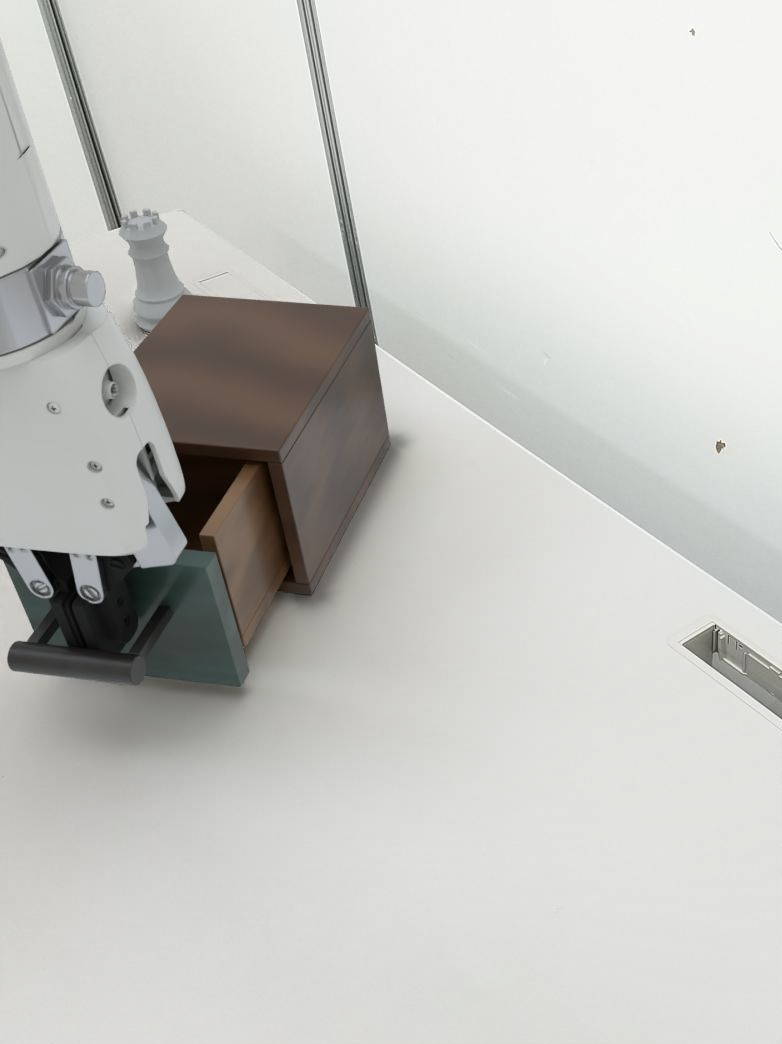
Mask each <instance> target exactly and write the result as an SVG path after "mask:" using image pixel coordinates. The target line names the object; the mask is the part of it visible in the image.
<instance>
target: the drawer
mask: <svg viewBox="0 0 782 1044" xmlns="http://www.w3.org/2000/svg"><path fill="white" fill-rule="evenodd" d="M176 455H177V458H178V461H179V464H180V467H181V470H182V474H183V478H184V482H185V492H184V494H183V496H182V498H181V499H180V501H179V502H177V501H172V502H167V503H166V505H167V507H168V508H169V510H170V512H171V513H172V515H173V517H174V519H175V520H176V522H177V524H178V525H179V527H180V529H181V530H182V532H183V534H184V536H185V537H186V539H187V545H186V547H185V549H184V550H183V552H182V553H181V555H180V556H179V558H178V559H177V561H176V562H175V563H174V564H173V565H170V566H161V567H151V568H141V567H134V568H132V569H131V571H130V572H129V573H128V574H127V575H126V576H125V577H124V580H125V583H126V585H127V588H128V591H129V594H130V597H131V599H132V602H133V605H134V608H135V611H136V613H137V617H138V627H137V631H136V633H135V634H134V636H133V638H132V639H131V640H130V642H128V643H126V645H125V646H124V648H123V649H122V651H121V652H111V651H102V650H94V649H85V648H77V647H68V645H67V642H66V640H65V638H64V635H63V633H62V631H61V628H60V626H59V624H58V621H57V619H56V616H55V614H54V612H53V609H52V607H51V604H50V602H49V600H48V599H44V598H40V597H38V596H36V595H34V594H33V593H32V592H31V591H30V590H29V588H28V587H27V585H26V583H25V582H24V580H23V578H22V577H21V575H20V573H19V572H18V571H17V570H16V569H14V568H13V567H11V566H10V565H8V564H7V563H5V562H4V561H3V560H2V562H3V564H4V566H5V568H6V570H7V573H8V575H9V578H10V580H11V583H12V585H13V587H14V589H15V592H16V594H17V596H18V598H19V601H20V603H21V605H22V608H23V610H24V613H25V615H26V617H27V619H28V622H29V624H30V626H31V629H32V631H33V632H32V633H31V634H30V636H29V637H28V638H27V640H25V641H23V640H16V641H14V642H13V643H12V644H11V645H10V647H9V649H8V651H7V656H6V661H7V666H8V668H9V669H10V670H11V671H12V672H17V673H25V674H34V675H41V676H50V677H59V678H67V679H68V678H69V679H75V680H84V681H93V682H99V683H100V682H101V683H107V684H118V685H127V686H133V687H134V686H135V687H137V686H139V685H140V684H141V683H143V680H144V679H145V677H147V678H153V679H154V678H155V679H162V680H164V679H165V680H171V681H179V682H188V683H195V684H196V683H197V684H205V685H214V686H222V687H230V688H239V689H241V688H242V687H243V685H244V683H245V681H246V679H247V677H248V675H249V674H250V668H249V664H248V661H247V657H246V653H245V650H244V648H247V646H248V644H249V643H250V640H251V639H252V637H253V635H254V634H255V632H256V629H257V628H258V626H259V624H260V623H261V622H262V619H263V617H264V616H265V613H266V612H267V610H268V608H269V606H270V604H271V603H272V601H273V599H274V597H275V595H276V594H277V592H278V591H277V590H278V588H279V586H280V585H281V583H282V581H283V579H284V577H285V576H286V574H287V572H288V570H289V568H290V567H291V565H292V564H291V560H290V556H289V551H288V547H287V543H286V539H285V535H284V530H283V526H282V522H281V518H280V514H279V509H278V505H277V501H276V497H275V492H274V488H273V484H272V480H271V476H270V471H269V467H268V462H263V461H252V460H241V459H230V458H219V457H208V456H197V455H186V454H176Z"/></svg>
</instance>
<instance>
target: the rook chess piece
mask: <svg viewBox="0 0 782 1044" xmlns="http://www.w3.org/2000/svg"><path fill="white" fill-rule="evenodd" d="M128 213H129V216H128V214H127V213H126V214H124V213H123V214H122V215H121V216H120V219H121V220H120V224H121V226H120V228H119V230H118V236H119V237H121V239H123V240H124V241H125V242H126V243H127V244H128V246H129V248H128V250H127V255H128V256H129V257H130V258H131V259H132V262H133V266H134V270H135V278H136V289H135V290H134V296H135V297H134V298H133V300H132V312H134V314H135V317H134V322H135V323H136V325H138V327H139V328H141V329H142V330H144V332H148V333H150V332H151V331H152V329H153V328H154V327H155V326H156V325H157V324H158V322H159V321H160V320H161V319H162V318H163V317H164V316H165V314H166V313H167V312H168V311H169V310H170V309H171V307H172V306H173V305H174V304H175V303H176V302H177V300H178V299H179V298H180V297H181V296H182V295H184V294H185V295H193V294H192V292H191V291H190V290H189V289H188V288H186V287H185V284H184V283H183V282H182V281H181V280H180V279H179V277H178V276H177V274H176V271H175V269H174V266H173V264H172V262H171V260H170V255H169V250H170V245H169V244H168V243H167V242H166V241H165V240H164V236H165V235H166V232H167V230H168V224H166V222H164V220H162V219H161V218H160V215H159V212H158V211H157V210H152V211H151V208H142V214H140V215H139V214H138V211H137V209H132V210H129V211H128ZM129 217H130V218H129Z"/></svg>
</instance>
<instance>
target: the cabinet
mask: <svg viewBox="0 0 782 1044" xmlns="http://www.w3.org/2000/svg"><path fill="white" fill-rule="evenodd" d="M371 319H372V317H371V311H370V308H369V307H364V306H351V305H350V306H349V305H338V304H337V305H335V304H321V303H311V302H309V303H308V302H296V301H295V302H294V301H281V300H268V299H267V300H266V299H252V298H241V297H240V298H239V297H223V296H213V295H211V296H210V295H199V294H198V295H197V294H192V295H185V294H184V295H182V296H181V297H180V298H179V299H178V300H177V302H176V303H175V304H174V305H173V306H172V307H171V309H170V310H169V311H168V312H167V313H166V314H165V316H164V317H163V318H162V319H161V320H160V321H159V322H158V324H157V325H156V326H155V327H154V328H153V329H152V331H151V332H148V334H147V335H146V336H145V338H144V339H143V340H142V341H140V343H139V344H138V345H137V346H136V347H135V349H134V350H133V352H134V354H135V356H136V358H137V360H138V362H139V364H140V366H141V368H142V370H143V372H144V374H145V376H146V379H147V381H148V383H149V385H150V388H151V390H152V392H153V394H154V397H155V399H156V401H157V404H158V406H159V409H160V411H161V414H162V416H163V419H164V421H165V424H166V427H167V429H168V432H169V435H170V437H171V440H172V443H173V446H174V449H175V452H176V454H186V455H197V456H208V457H219V458H230V459H241V460H252V461H263V462H268V467H269V471H270V476H271V480H272V484H273V488H274V492H275V497H276V501H277V505H278V509H279V514H280V518H281V522H282V526H283V530H284V535H285V539H286V543H287V547H288V551H289V556H290V560H291V564H292V565H291V567H290V568H289V570H288V572H287V574H286V576H285V577H284V579H283V581H282V583H281V585H280V586H279V588H278V590H277V592H280V593H291V594H299V595H310V596H311V595H313V593H314V591H315V589H316V587H317V585H318V583H319V582H320V580H321V578H322V576H323V574H324V572H325V570H326V569H327V567H328V564H329V563H330V561H331V558H332V557H333V555H334V553H335V551H336V549H337V548H338V545H339V544H340V542H341V540H342V538H343V535H344V534H345V532H346V530H347V529H348V526H349V524H350V522H351V520H352V519H353V516H354V515H355V513H356V511H357V509H358V507H359V505H360V503H361V501H362V499H363V498H364V496H365V493H366V492H367V490H368V488H369V486H370V484H371V482H372V480H373V479H374V476H375V474H376V472H377V470H378V469H379V467H380V465H381V463H382V461H383V459H384V457H385V456H386V453H387V451H388V450H389V448H390V446H391V439H390V431H389V424H388V419H387V412H386V411H387V410H386V406H385V399H384V393H383V386H382V380H381V374H380V367H379V362H378V353H377V348H376V342H375V341H376V340H375V336H374V329H373V323H372V320H371Z"/></svg>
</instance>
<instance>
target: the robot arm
mask: <svg viewBox="0 0 782 1044" xmlns="http://www.w3.org/2000/svg"><path fill="white" fill-rule="evenodd" d="M58 216H59V215H58V213H57V210H56V207H55V204H54V201H53V198H52V195H51V192H50V188H49V185H48V183H47V179H46V177H45V173H44V170H43V166H42V163H41V161H40V157H39V154H38V152H37V148H36V145H35V142H34V139H33V135H32V132H31V129H30V127H29V123H28V120H27V117H26V113H25V110H24V108H23V105H22V101H21V98H20V95H19V93H18V90H17V86H16V82H15V80H14V76H13V74H12V70H11V68H10V63H9V61H8V59H7V55H6V52H5V49H4V46H3V43H2V39H1V38H0V560H1V561H2V562H3V561H4V562H5V563H7V564H8V565H10V566H11V567H13V568H14V569H16V570H17V571H18V572H19V573H20V575H21V577H22V578H23V580H24V582H25V583H26V585H27V587H28V588H29V590H30V591H31V592H32V593H33V594H34V595H36V596H38V597H40V598H44V599H48V600H49V602H50V604H51V607H52V609H53V612H54V614H55V616H56V619H57V621H58V624H59V626H60V628H61V631H62V633H63V635H64V638H65V640H66V642H67V645H68V647H77V648H85V649H94V650H102V651H111V652H121V651H122V649H123V648H124V646H125V645H126V643H128V642H130V640H131V639H132V638H133V636H134V634H135V633H136V631H137V627H138V617H137V613H136V611H135V608H134V605H133V602H132V599H131V597H130V594H129V591H128V588H127V585H126V583H125V580H124V577H125V576H126V575H127V574H128V573H129V572H130V571H131V569H132V568H134V567H141V568H151V567H161V566H170V565H173V564H174V563H175V562H176V561H177V559H178V558H179V556H180V555H181V553H182V552H183V550H184V549H185V547H186V545H187V539H186V537H185V536H184V534H183V532H182V530H181V529H180V527H179V525H178V524H177V522H176V520H175V519H174V517H173V515H172V513H171V512H170V510H169V508H168V507H167V505H166V503H167V502H172V501H177V502H179V501H180V499H181V498H182V496H183V494H184V492H185V482H184V478H183V474H182V470H181V467H180V464H179V461H178V458H177V455H176V452H175V449H174V446H173V443H172V440H171V437H170V435H169V432H168V429H167V427H166V424H165V421H164V419H163V416H162V414H161V411H160V409H159V406H158V404H157V401H156V399H155V397H154V394H153V392H152V390H151V388H150V385H149V383H148V381H147V379H146V376H145V374H144V372H143V370H142V368H141V366H140V364H139V362H138V360H137V358H136V356H135V354H134V352H133V351H134V350H133V348H132V347H131V345H130V343H129V341H128V340H127V338H126V336H125V334H124V332H123V330H121V328H120V325H119V324H118V323H117V321H116V319H115V318H114V316H113V315H112V313H111V312H110V311H109V309H108V307H107V306H106V304H105V303H104V301H105V299H106V292H107V290H106V282H105V279H104V277H103V275H102V273H101V272H100V271H98V270H90V269H89V270H88V269H84V268H82V267H81V266H80V265H76V263H75V261H74V258H73V255H72V252H71V248H70V245H69V241H68V239H66V238H65V236H64V232H63V230H62V226H61V223H60V220H59V217H58ZM4 562H3V563H4Z"/></svg>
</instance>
